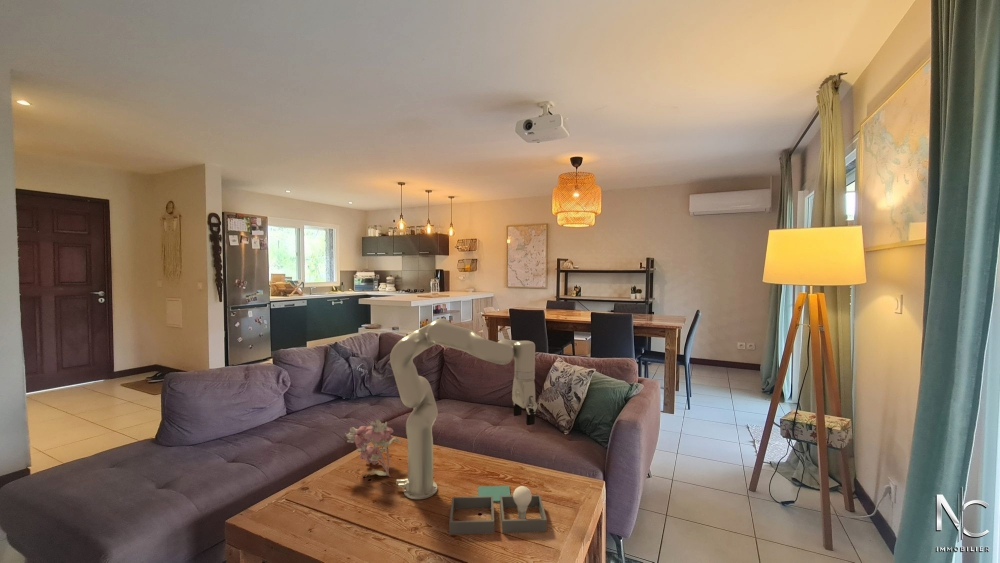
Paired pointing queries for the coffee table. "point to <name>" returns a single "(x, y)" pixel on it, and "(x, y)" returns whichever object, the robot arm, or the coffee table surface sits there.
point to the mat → (494, 492)
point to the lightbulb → (522, 500)
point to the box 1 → (471, 526)
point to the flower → (379, 439)
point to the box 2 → (523, 524)
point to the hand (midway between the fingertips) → (523, 419)
